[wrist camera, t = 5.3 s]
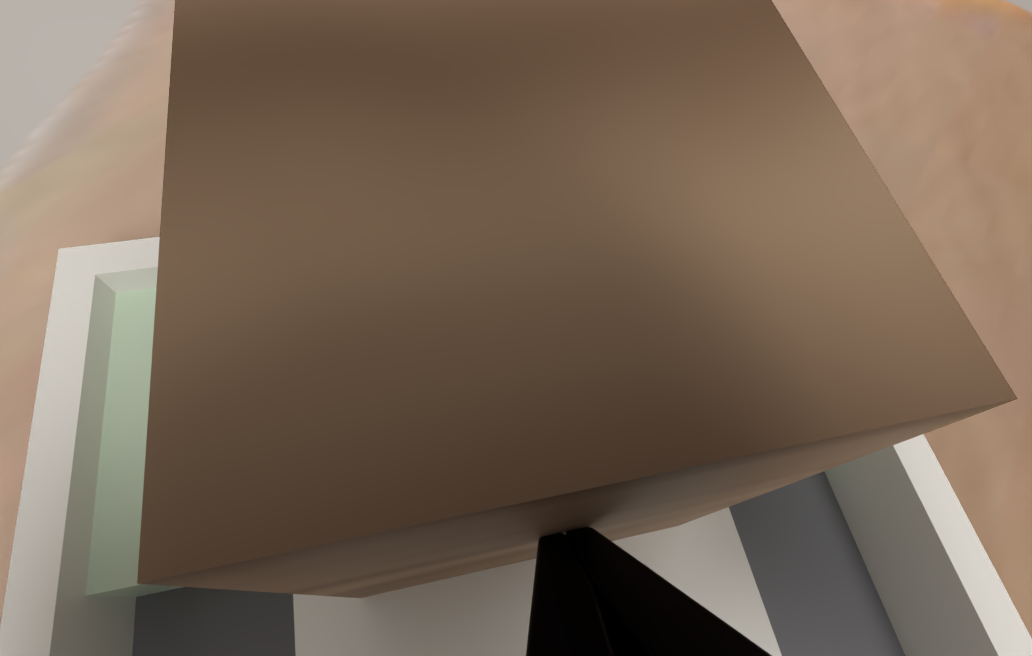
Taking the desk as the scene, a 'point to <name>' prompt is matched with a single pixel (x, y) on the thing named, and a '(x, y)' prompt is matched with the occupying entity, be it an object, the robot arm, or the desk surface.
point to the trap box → (475, 596)
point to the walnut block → (513, 286)
